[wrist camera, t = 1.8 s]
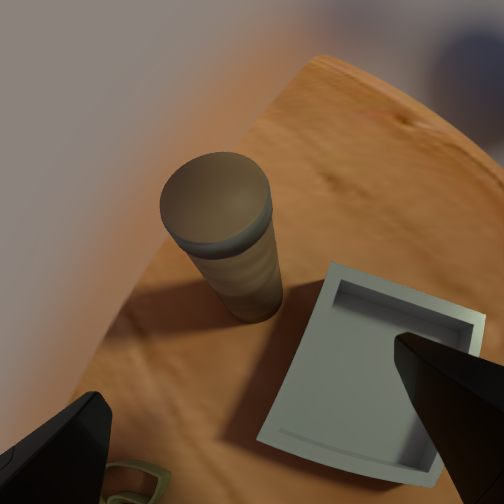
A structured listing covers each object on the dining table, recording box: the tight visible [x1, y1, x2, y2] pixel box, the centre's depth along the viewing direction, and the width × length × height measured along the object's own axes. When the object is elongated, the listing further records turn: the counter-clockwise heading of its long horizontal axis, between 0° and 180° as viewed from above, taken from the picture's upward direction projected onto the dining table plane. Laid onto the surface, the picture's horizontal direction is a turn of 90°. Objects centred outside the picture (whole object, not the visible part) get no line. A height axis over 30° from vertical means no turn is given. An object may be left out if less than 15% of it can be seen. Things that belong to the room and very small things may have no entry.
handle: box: [160, 152, 283, 323], centre depth 17 cm, size 5×5×12 cm
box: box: [256, 261, 486, 488], centre depth 17 cm, size 12×12×3 cm
